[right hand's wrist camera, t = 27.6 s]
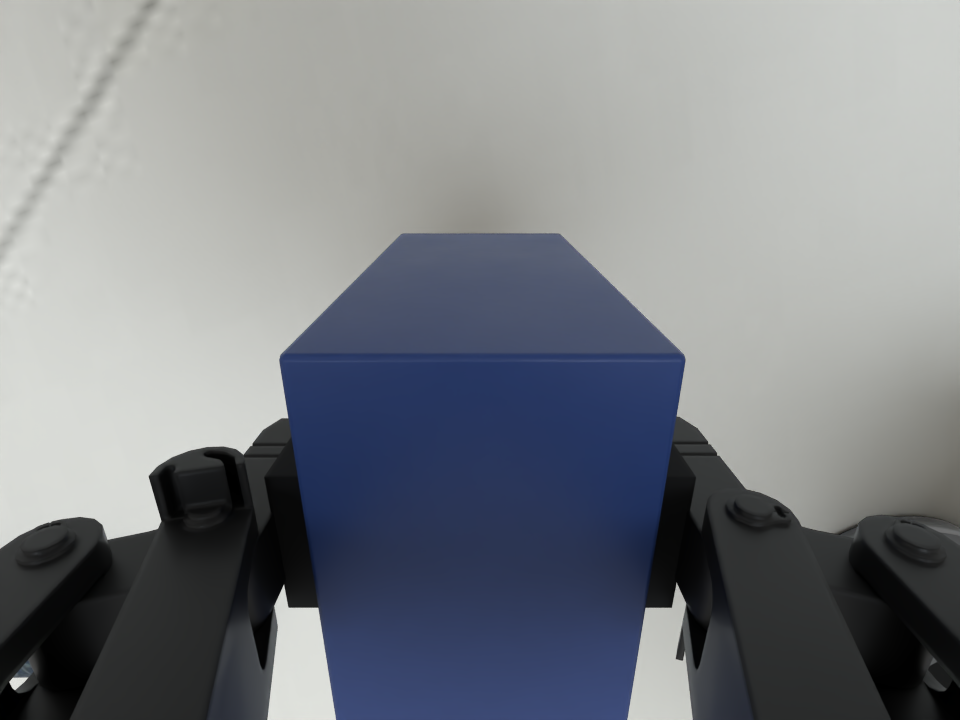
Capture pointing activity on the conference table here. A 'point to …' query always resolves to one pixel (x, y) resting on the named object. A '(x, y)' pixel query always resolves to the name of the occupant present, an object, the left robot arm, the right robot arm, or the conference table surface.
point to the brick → (482, 480)
